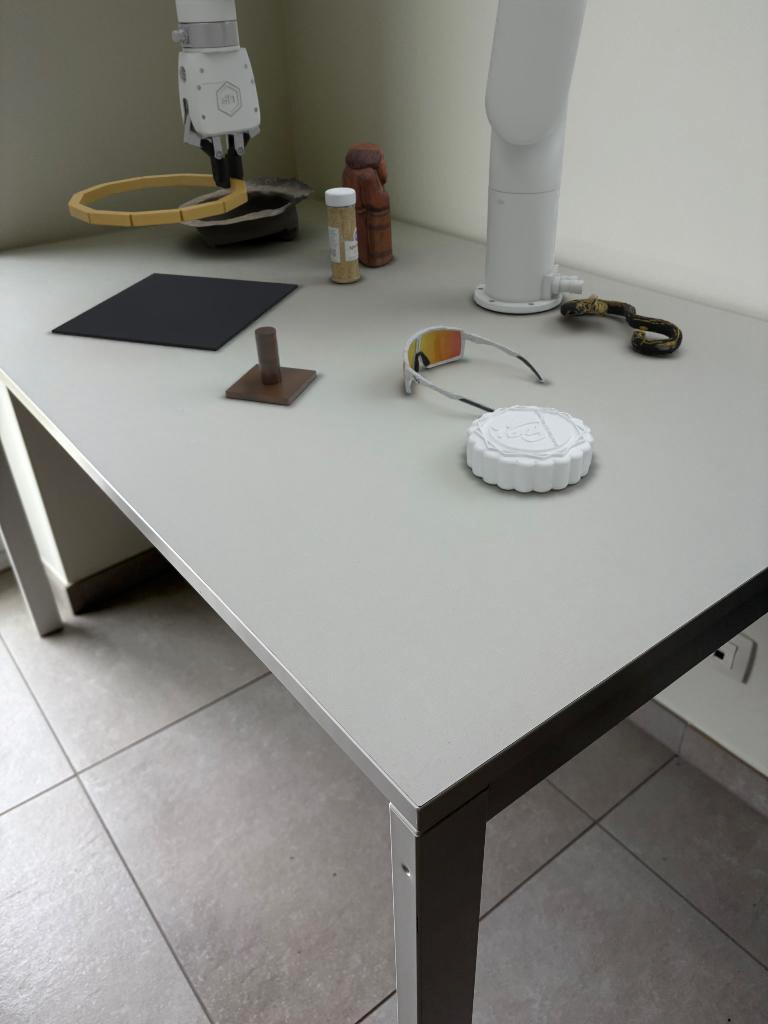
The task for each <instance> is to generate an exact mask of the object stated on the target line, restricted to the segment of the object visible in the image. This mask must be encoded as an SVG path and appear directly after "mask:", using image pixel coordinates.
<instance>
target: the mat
mask: <svg viewBox="0 0 768 1024" xmlns="http://www.w3.org/2000/svg"><path fill="white" fill-rule="evenodd" d="M298 287H299V284H297V283H287V282H286V283H285V282H284V283H283V282H272V281H259V280H248V279H246V280H245V279H237V278H235V279H234V278H222V277H210V276H209V277H208V276H198V275H186V274H185V275H184V274H173V273H171V274H170V273H159V272H153V273H152V274H150V275H148V276H146V277H143V278H142V279H141V280H139V281H137V282H135V283H134V284H132V285H130V286H128V287H127V288H125V289H123V290H121V291H120V292H118V293H116V294H114V295H112V296H110V297H108V298H106V299H105V300H103V301H102V302H99V303H98V304H95V305H94V306H93V307H91V308H89V309H87V310H86V311H83V312H81V313H80V314H78V315H76V316H75V317H72V318H71V319H69V320H67V321H66V322H64V323H62V324H59V325H58V326H56V327H54V328H53V329H52V330H51V333H52V334H58V335H66V336H67V335H68V336H77V337H84V338H85V337H87V338H94V339H105V340H113V341H123V342H132V343H141V344H149V345H150V344H151V345H159V346H169V347H178V348H187V349H196V350H205V351H215V352H216V351H218V350H220V348H221V347H223V346H224V345H225V344H227V343H228V342H229V341H231V340H232V339H233V338H235V337H236V336H237V335H238V334H240V333H241V332H242V331H244V330H245V329H246V328H248V326H250V325H252V323H253V322H255V321H256V320H258V319H259V318H260V317H261V316H262V315H264V314H265V313H267V312H268V311H269V310H271V309H272V308H273V307H274V306H276V305H277V304H278V303H279V302H281V301H282V300H283V299H284V298H286V297H287V296H288V295H290V294H291V293H292V292H293V291H295V290H296V289H298Z"/></svg>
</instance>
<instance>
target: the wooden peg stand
mask: <svg viewBox="0 0 768 1024" xmlns="http://www.w3.org/2000/svg"><path fill="white" fill-rule="evenodd" d="M254 337H255V345H256V352H257V353H256V354H257V360H258V363H256V364H254V365H253V367H251V368H250V369H249V370H248V371H247V372H246V373H244V374H243V375H242V376H241V377H240V378H239V379H237V380H236V381H235V382H234V383H232V385H230V386H229V388H226V390H225V397H226V398H231V399H237V400H246V401H252V402H260V403H269V404H277V405H285V406H290V405H291V404H292V403H293V401H295V399H297V397H299V395H300V394H301V393H303V391H304V390H305V389H306V388H307V387H308V386H309V385H310V384H311V383H312V382H313V381H314V380H315V378H317V370H315V369H306V368H296V367H287V366H281V361H280V352H279V345H278V336H277V329H276V328H275V327H274V326H260V327H258V328H257V327H256V328H255V329H254Z"/></svg>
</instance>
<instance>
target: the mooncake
mask: <svg viewBox="0 0 768 1024" xmlns="http://www.w3.org/2000/svg"><path fill="white" fill-rule="evenodd" d="M495 409H496V410H494V411H493V412H484V413H482V415H481V416H480V417H479V418H475V419H474V420H473V421H472V422H471V426H470V427H468V428H467V430H466V450H465V451H466V453H465V454H466V464H467V466H468V467H469V468H471V471H472V473H473V475H475V476H476V477H479V478H482V480H483V481H484V482H485V483H487V484H489V485H497V486H498V487H499V488H500V489H503V490H508V491H509V490H515V491H517V492H519V493H530V492H537V493H547V492H549V491H551V490H556V491H557V490H563V489H565V488H567V486H568V485H574V484H578V482H580V480H581V478H582V477H585V476H586V475H587V474H588V473H589V469H590V466H591V464H592V459H593V457H592V456H593V449H594V441H595V438H594V437H593V435H592V430H591V428H590V427H588V426H587V425H585V424H584V422H583V420H581V419H579V418H577V417H573V416H572V414H570V412H566V411H559V410H557V409H556V408H554V407H539V406H537V405H528V406H525V405H519V404H516V405H513V406H510V407H498V408H495Z"/></svg>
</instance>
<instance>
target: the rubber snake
mask: <svg viewBox="0 0 768 1024" xmlns="http://www.w3.org/2000/svg"><path fill="white" fill-rule="evenodd" d="M559 312H560V314H561V315H562V316H563V317H570V316H574V315H575V316H576V315H577V316H580V315H584V314H588V313H591V314H592V313H594V314H596V315H597V316H599V317H601V318H603V317H604V316H605V315H613V316H619V317H623V318H625V322H626V324H627V325H628V326H629V327H630V328H632V329H633V330H634V331H633V333H632V335H631V337H630V338H631V339H630V341H631V342H630V343H631V346H632V349H634V350H635V351H636V352H639V353H642V354H644V355H651V356H652V355H656V356H657V355H672V354H674V353H675V352H676V350H678V349H679V348H680V346H681V345H682V341H683V337H684V336H683V335H684V334H683V331H682V330H681V328H679V327H678V325H676V324H675V323H672V322H671V321H668V320H665V319H661V318H656V317H651V316H644V315H640V314H637V310H636V307H635V306H634V305H632V304H630V303H627V302H623V301H617V300H609V299H601V298H599V296H598V295H597V294H596V293H595V294H594V293H593V294H591V295H590V296H589V297H588V298H583V299H572V300H568V301H566V302H564V303H563V304H561V305H560V308H559ZM646 332H648V333H655V334H659V335H663V336H665V337H667V338H663V339H648V338H647V335H646V334H647V333H646Z"/></svg>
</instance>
